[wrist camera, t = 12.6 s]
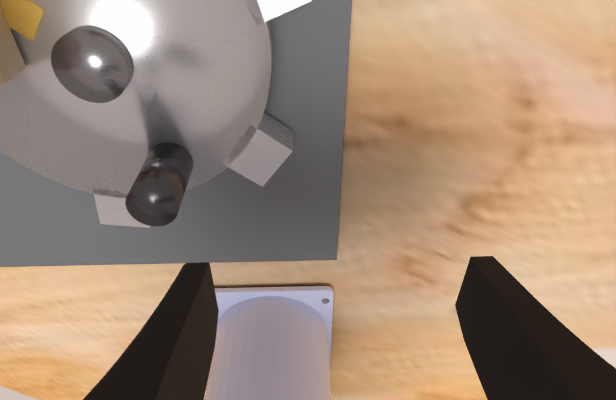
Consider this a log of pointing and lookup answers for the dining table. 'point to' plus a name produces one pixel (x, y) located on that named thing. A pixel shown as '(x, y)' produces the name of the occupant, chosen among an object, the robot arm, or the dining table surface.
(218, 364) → the robot arm
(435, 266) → the dining table surface
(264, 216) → the mat
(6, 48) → the banded wooden block
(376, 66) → the dining table surface
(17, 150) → the sprocket
